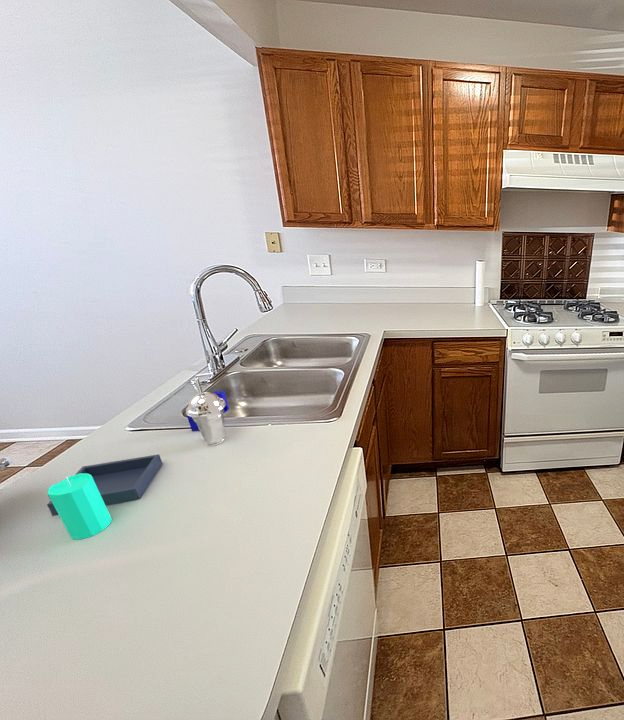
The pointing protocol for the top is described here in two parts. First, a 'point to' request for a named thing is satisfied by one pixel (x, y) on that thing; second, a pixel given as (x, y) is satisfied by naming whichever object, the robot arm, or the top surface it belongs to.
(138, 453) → the top surface
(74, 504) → the candle
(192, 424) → the cable clip
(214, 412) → the cup with straw
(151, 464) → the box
